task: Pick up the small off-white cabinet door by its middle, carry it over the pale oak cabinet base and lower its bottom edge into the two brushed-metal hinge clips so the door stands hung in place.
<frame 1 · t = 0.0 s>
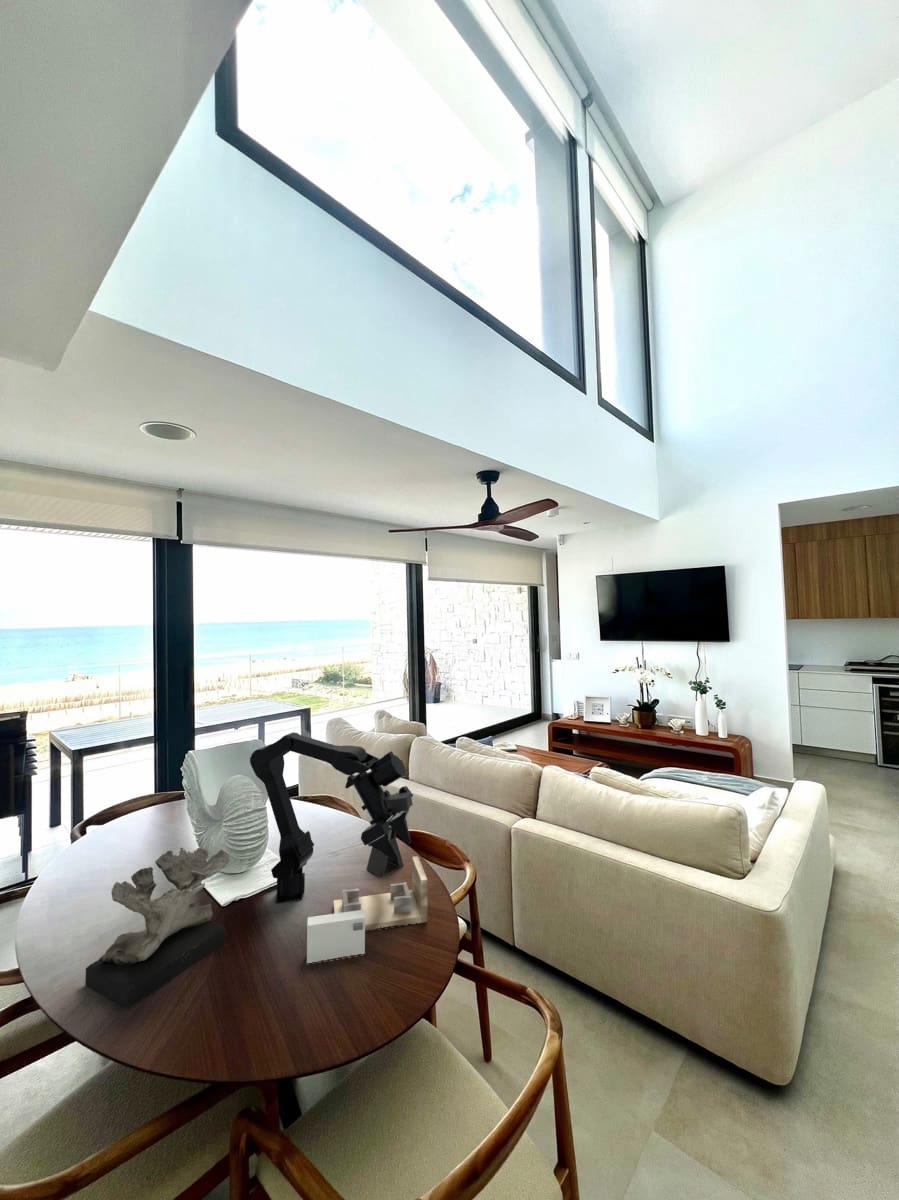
hand: (403, 851, 123), 15 cm above the table, tool tilted 35°, fingers open, 9 cm apart
coral: (175, 964, 105), on the table
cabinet: (376, 914, 122), on the table
door: (335, 955, 108), on the table
door stopper: (385, 869, 145), on the table
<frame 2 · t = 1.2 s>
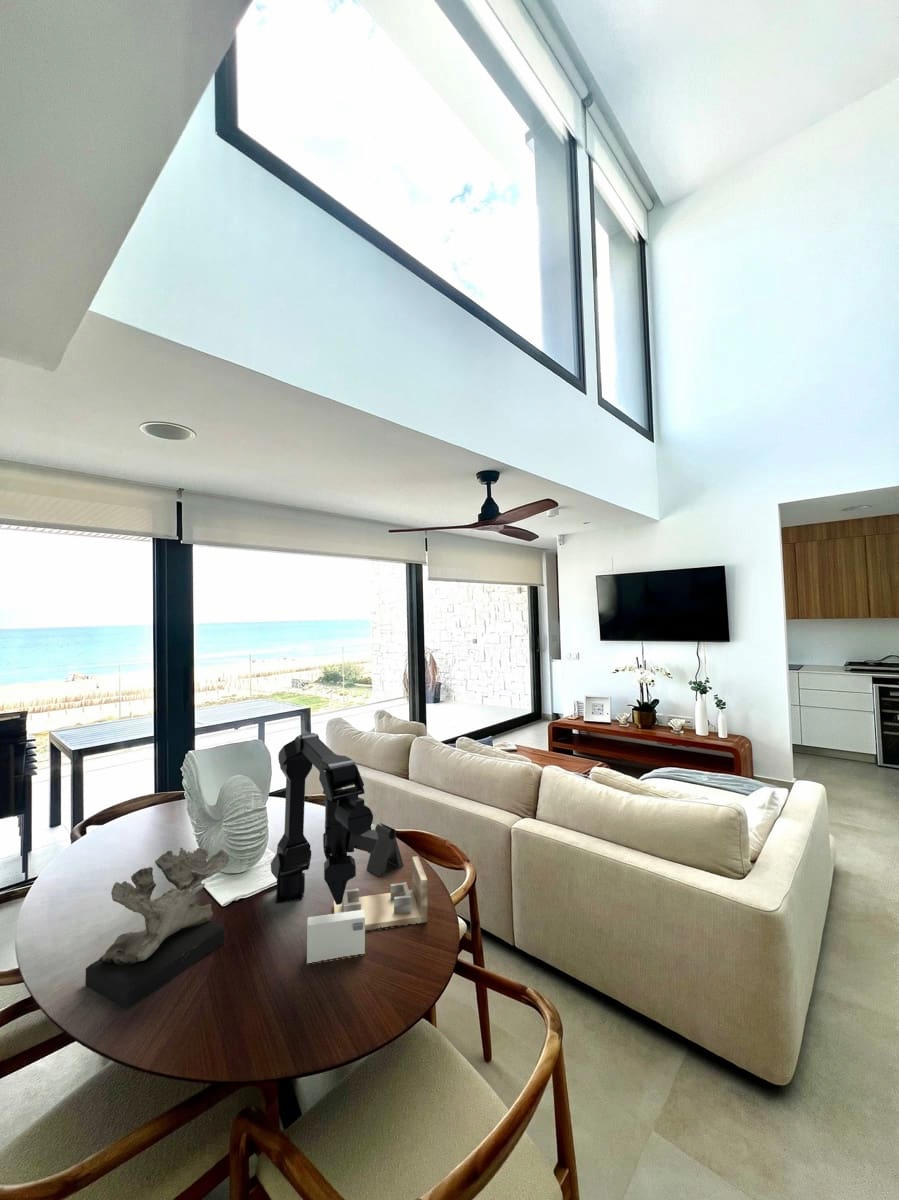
hand: (338, 892, 108), 13 cm above the table, tool pointing down, fingers open, 9 cm apart
nothing on the table moved.
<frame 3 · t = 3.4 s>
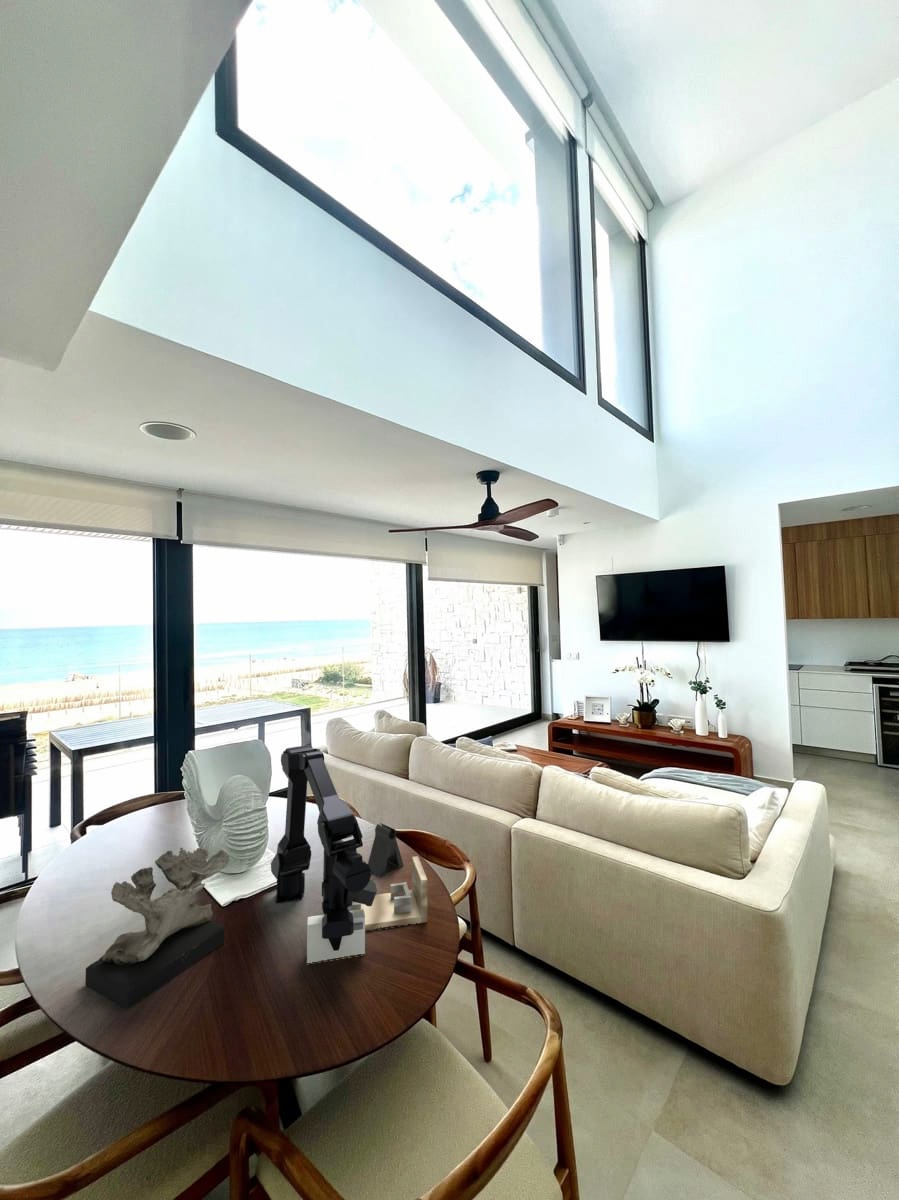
hand: (336, 945, 108), 2 cm above the table, tool pointing down, fingers closed on door, 3 cm apart
door: (335, 954, 108), on the table, touching gripper
everything else where it was.
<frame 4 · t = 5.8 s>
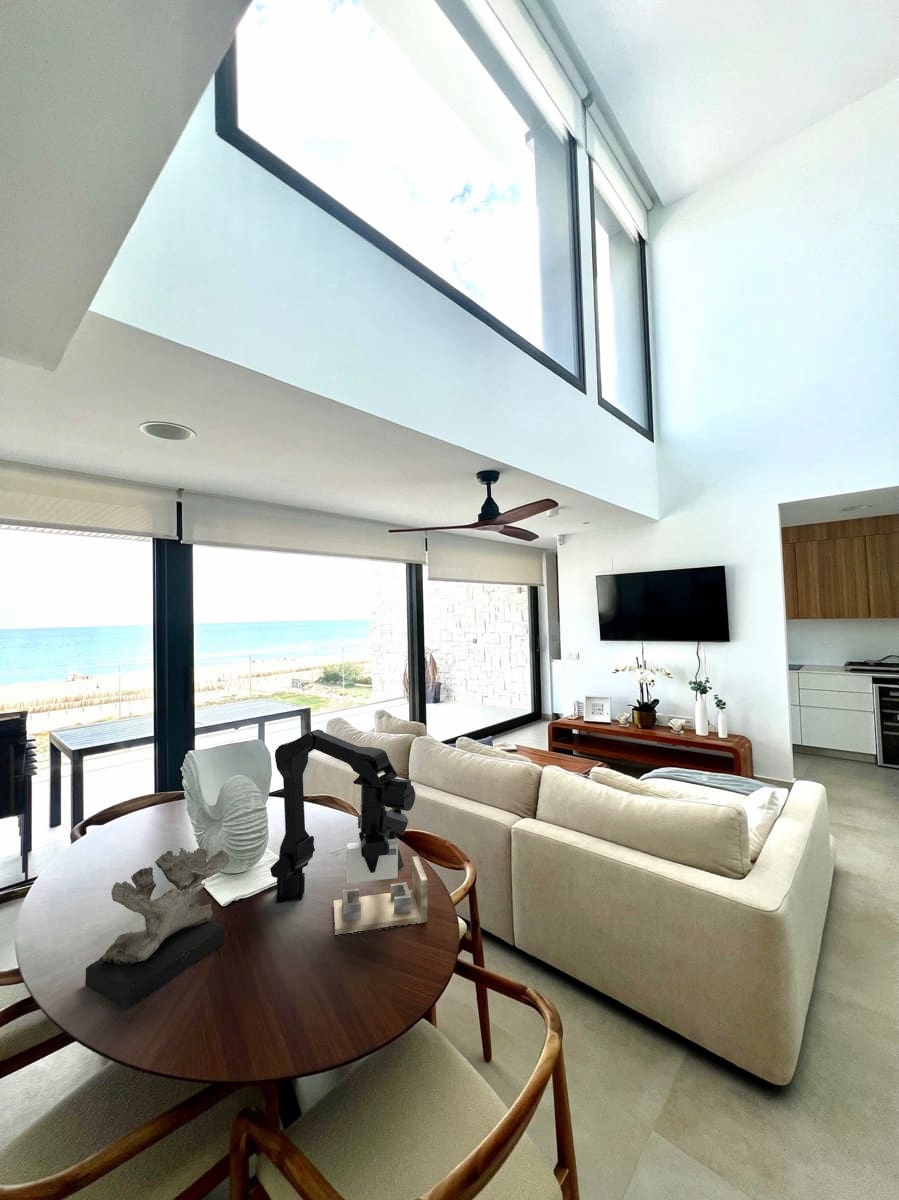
hand: (372, 868, 121), 12 cm above the table, tool pointing down, fingers closed on door, 3 cm apart
door: (372, 877, 121), point 10 cm above the table, touching gripper
everything else where it was.
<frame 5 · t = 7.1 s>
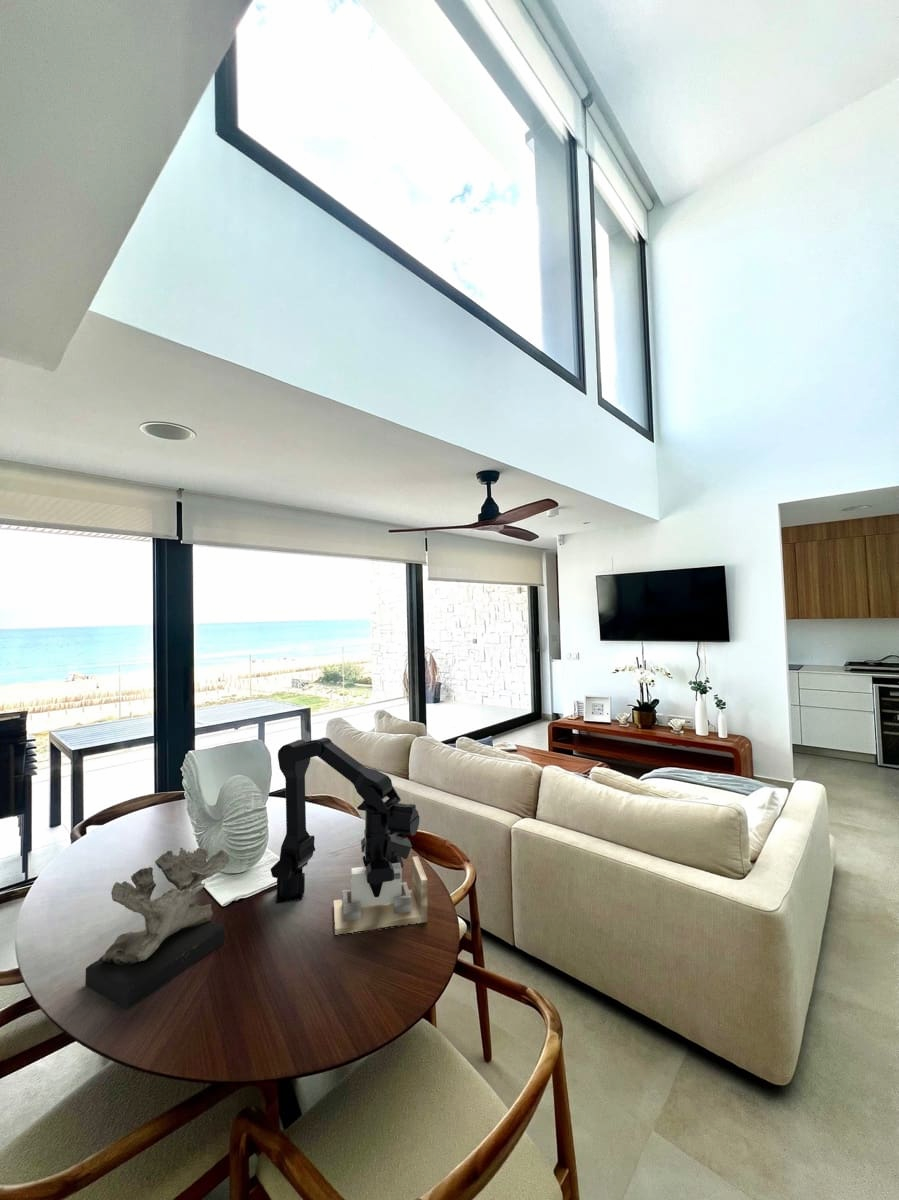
hand: (376, 893, 122), 5 cm above the table, tool pointing down, fingers closed on door, 3 cm apart
door: (376, 901, 122), point 3 cm above the table, touching gripper
everything else where it was.
when the fingers open (4 cm above the table, at t = 8.1 s): door stays where it is, resting on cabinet.
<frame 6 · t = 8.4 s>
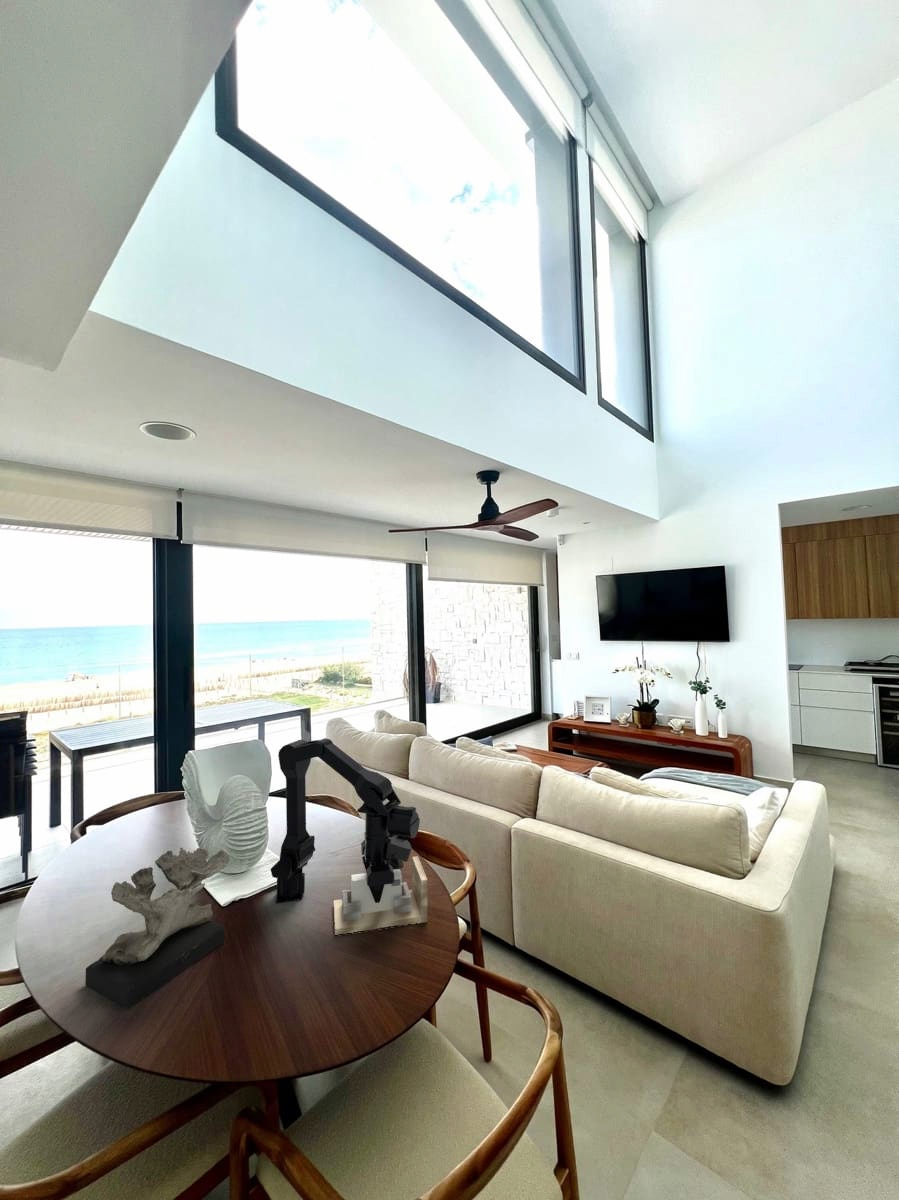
hand: (376, 895, 122), 4 cm above the table, tool pointing down, fingers open, 6 cm apart
door: (376, 908, 122), point 1 cm above the table, touching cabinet
everything else where it was.
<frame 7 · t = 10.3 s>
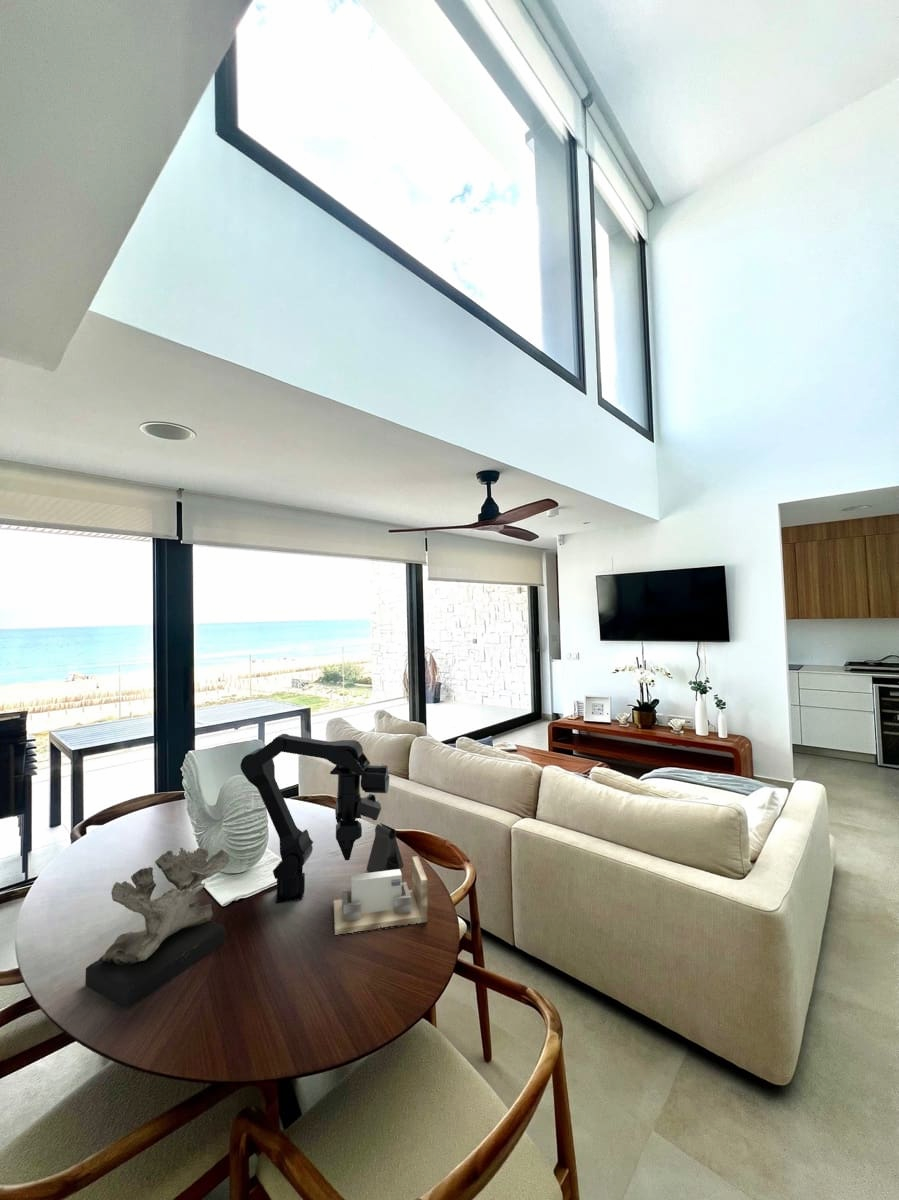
hand: (346, 851, 130), 12 cm above the table, tool pointing down, fingers open, 9 cm apart
nothing on the table moved.
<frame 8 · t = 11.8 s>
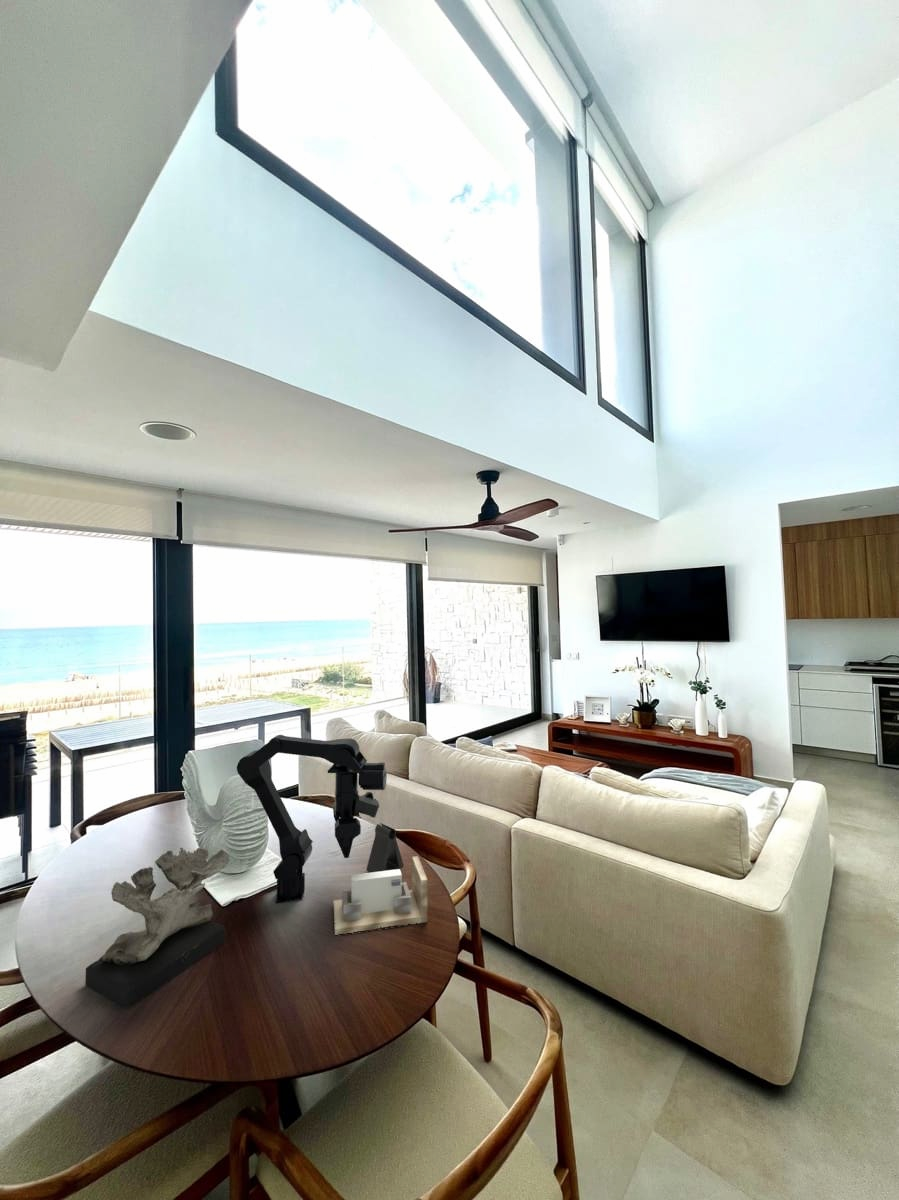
hand: (345, 849, 131), 12 cm above the table, tool pointing down, fingers open, 9 cm apart
nothing on the table moved.
at the end: door 0.0 cm off-centre on the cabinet, point 1.5 cm above the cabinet's base; door tilted 0°; the gripper is holding nothing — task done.
